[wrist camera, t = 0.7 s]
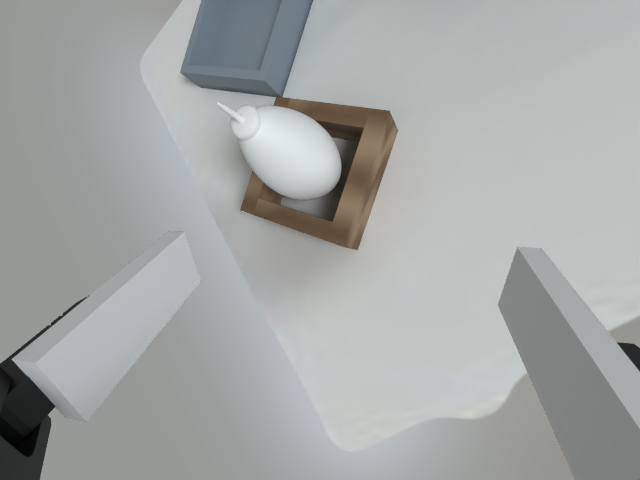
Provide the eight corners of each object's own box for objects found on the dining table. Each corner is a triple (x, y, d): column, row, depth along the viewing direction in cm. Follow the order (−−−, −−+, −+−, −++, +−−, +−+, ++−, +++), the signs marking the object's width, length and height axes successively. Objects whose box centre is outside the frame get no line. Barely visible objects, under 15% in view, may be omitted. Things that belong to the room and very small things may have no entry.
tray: (231, -13, 47) (212, -37, 43) (319, -20, 40) (305, -49, 36) (201, 87, 47) (180, 72, 44) (281, 97, 40) (264, 80, 37)
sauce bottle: (344, 135, 36) (249, 23, 20) (363, 194, 34) (275, 124, 18) (290, 162, 39) (168, 84, 23) (304, 218, 37) (184, 176, 21)
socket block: (295, 114, 39) (276, 96, 35) (398, 130, 33) (389, 110, 29) (262, 216, 40) (240, 210, 36) (357, 249, 34) (343, 246, 30)
